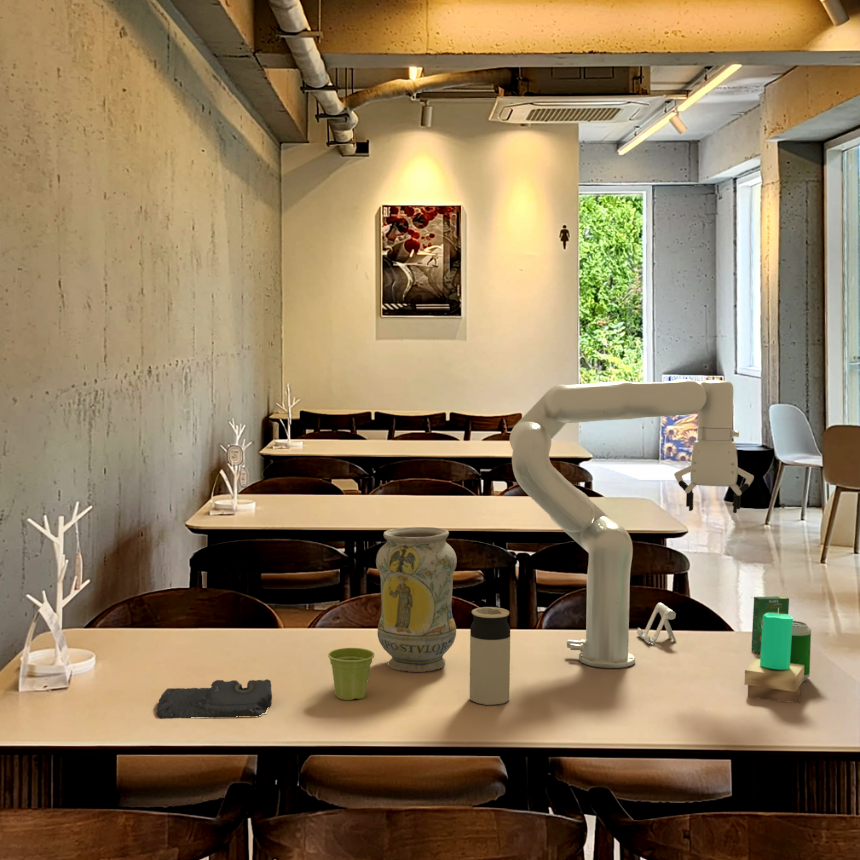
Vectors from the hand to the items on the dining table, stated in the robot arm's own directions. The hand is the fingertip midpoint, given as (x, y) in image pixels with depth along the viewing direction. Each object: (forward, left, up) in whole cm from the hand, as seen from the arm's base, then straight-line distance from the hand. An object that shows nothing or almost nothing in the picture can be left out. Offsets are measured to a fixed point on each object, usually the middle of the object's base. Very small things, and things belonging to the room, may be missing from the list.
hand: (712, 511), depth 246 cm
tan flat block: (+14, -20, -35) cm, 43 cm away
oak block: (+14, -20, -32) cm, 40 cm away
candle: (+14, -20, -29) cm, 38 cm away
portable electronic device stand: (-13, +15, -35) cm, 40 cm away
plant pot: (-67, -51, -34) cm, 91 cm away
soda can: (+18, -8, -34) cm, 40 cm away
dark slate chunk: (-90, -65, -35) cm, 116 cm away
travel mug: (-40, -44, -34) cm, 69 cm away
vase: (-62, -25, -34) cm, 75 cm away
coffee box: (+13, +13, -34) cm, 39 cm away
